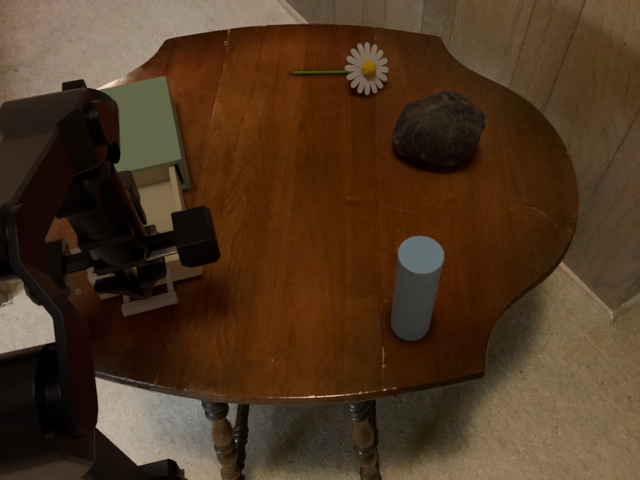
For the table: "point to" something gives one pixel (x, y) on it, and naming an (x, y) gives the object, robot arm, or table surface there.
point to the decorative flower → (362, 69)
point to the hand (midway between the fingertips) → (146, 295)
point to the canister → (415, 286)
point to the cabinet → (149, 128)
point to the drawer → (158, 203)
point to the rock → (439, 129)
